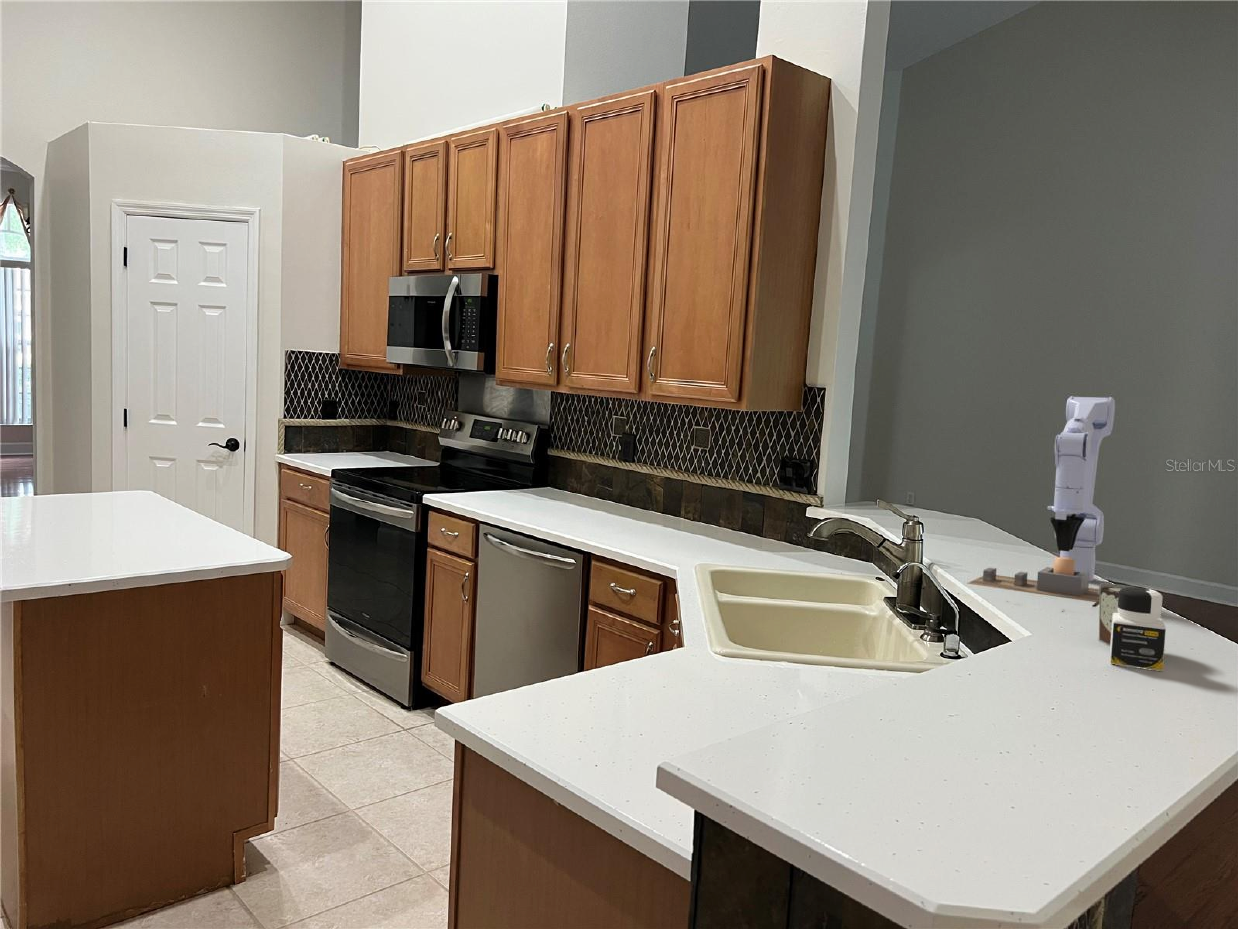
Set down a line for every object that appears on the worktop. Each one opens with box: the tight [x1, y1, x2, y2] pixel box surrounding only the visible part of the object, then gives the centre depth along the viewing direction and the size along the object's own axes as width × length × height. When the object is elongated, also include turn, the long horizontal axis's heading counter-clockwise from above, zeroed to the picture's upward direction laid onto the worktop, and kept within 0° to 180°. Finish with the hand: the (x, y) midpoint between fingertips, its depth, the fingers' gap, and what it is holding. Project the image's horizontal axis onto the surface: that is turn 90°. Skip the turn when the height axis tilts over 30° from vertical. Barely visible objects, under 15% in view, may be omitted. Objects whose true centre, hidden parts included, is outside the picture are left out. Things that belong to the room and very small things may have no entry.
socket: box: [1036, 566, 1090, 596], centre depth 198 cm, size 9×9×4 cm
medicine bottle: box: [1109, 586, 1167, 672], centre depth 144 cm, size 7×7×12 cm
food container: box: [1098, 582, 1132, 647], centre depth 154 cm, size 12×6×10 cm, turn 179°
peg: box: [1053, 556, 1075, 576], centre depth 198 cm, size 4×4×7 cm
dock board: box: [966, 567, 1100, 608], centre depth 201 cm, size 16×26×4 cm, turn 52°
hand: (1065, 550), depth 197 cm, fingers open, 3 cm apart
